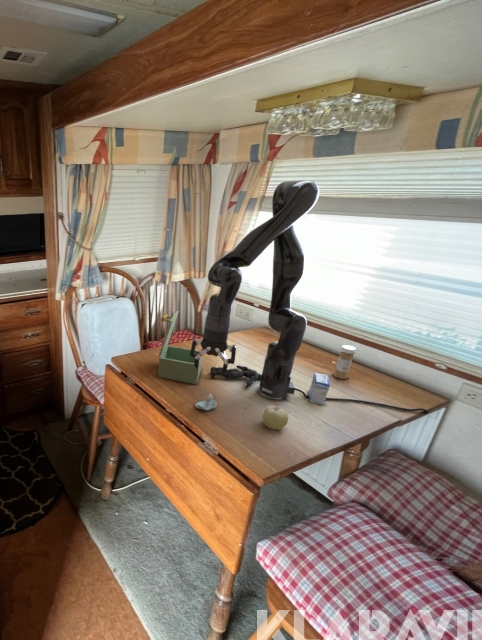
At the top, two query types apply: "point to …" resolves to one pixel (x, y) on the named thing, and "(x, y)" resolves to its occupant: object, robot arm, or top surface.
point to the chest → (179, 365)
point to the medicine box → (319, 388)
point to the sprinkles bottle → (344, 361)
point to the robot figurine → (237, 374)
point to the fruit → (275, 417)
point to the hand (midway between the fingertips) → (209, 370)
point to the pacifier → (206, 403)
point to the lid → (168, 330)
